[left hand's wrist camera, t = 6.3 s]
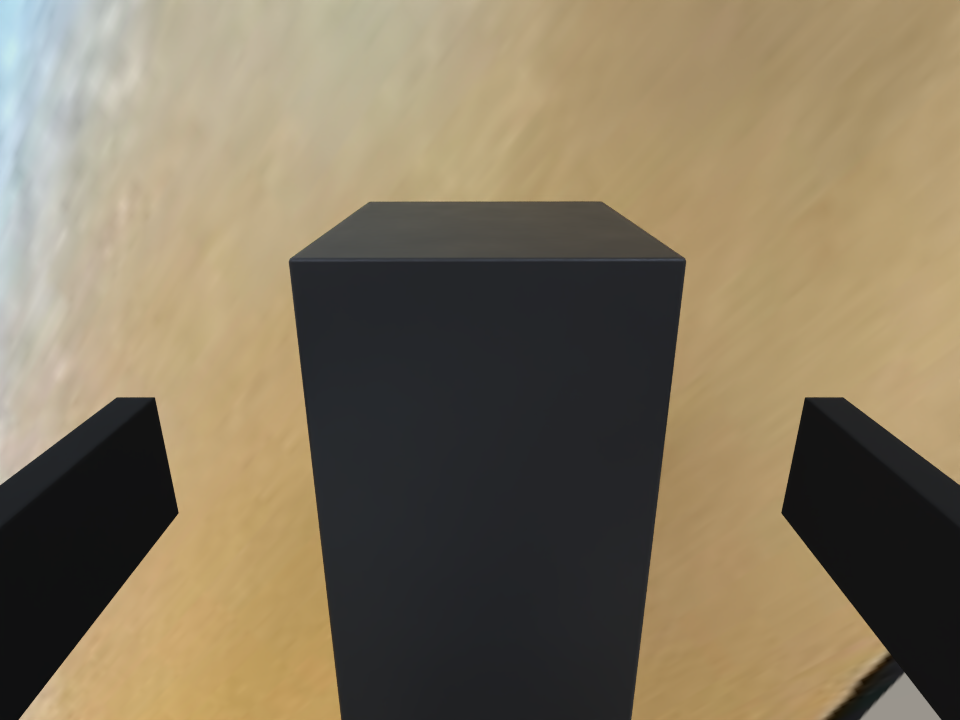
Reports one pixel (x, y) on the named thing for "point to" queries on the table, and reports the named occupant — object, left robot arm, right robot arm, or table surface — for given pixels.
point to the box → (486, 452)
